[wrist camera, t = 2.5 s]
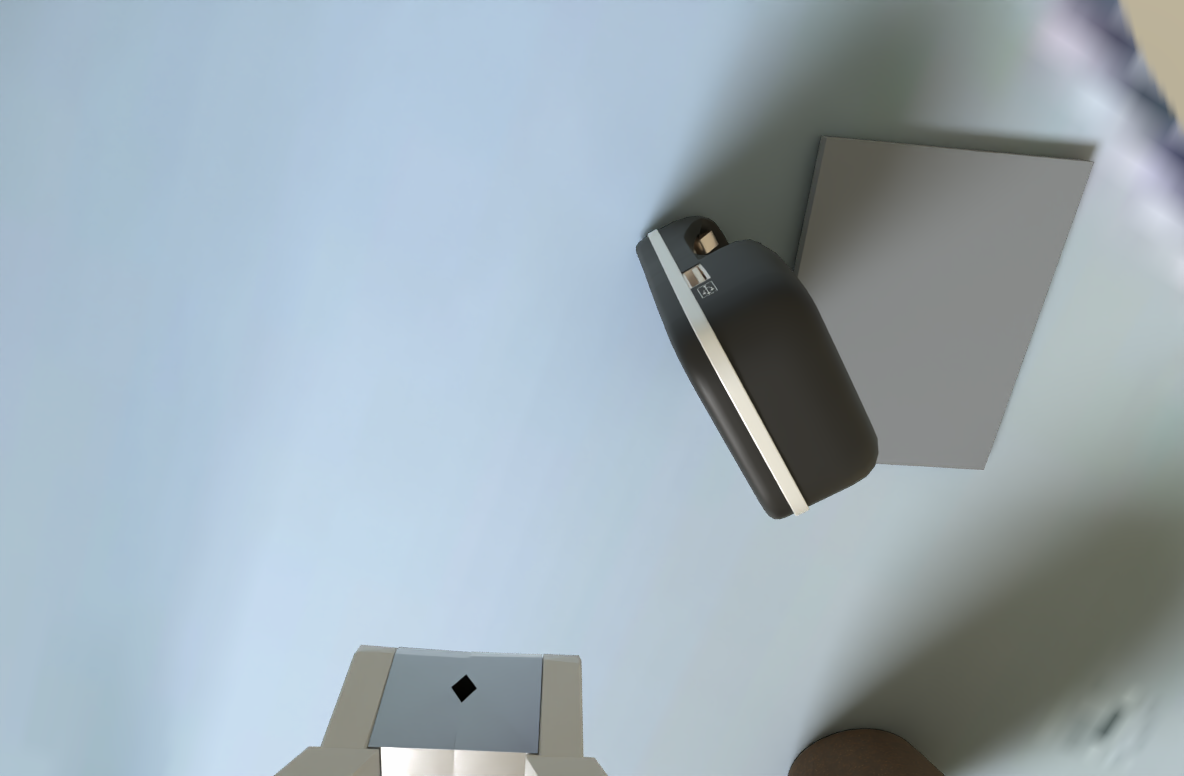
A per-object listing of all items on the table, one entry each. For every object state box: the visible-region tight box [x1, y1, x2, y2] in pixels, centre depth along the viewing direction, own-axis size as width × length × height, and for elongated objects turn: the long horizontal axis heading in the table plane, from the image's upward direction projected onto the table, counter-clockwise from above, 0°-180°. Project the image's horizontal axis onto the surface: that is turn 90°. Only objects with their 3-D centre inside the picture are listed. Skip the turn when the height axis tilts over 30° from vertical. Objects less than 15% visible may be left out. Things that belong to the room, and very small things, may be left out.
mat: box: [793, 136, 1094, 470], centre depth 29 cm, size 10×13×1 cm
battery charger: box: [636, 216, 879, 519], centre depth 24 cm, size 7×4×11 cm, turn 30°
